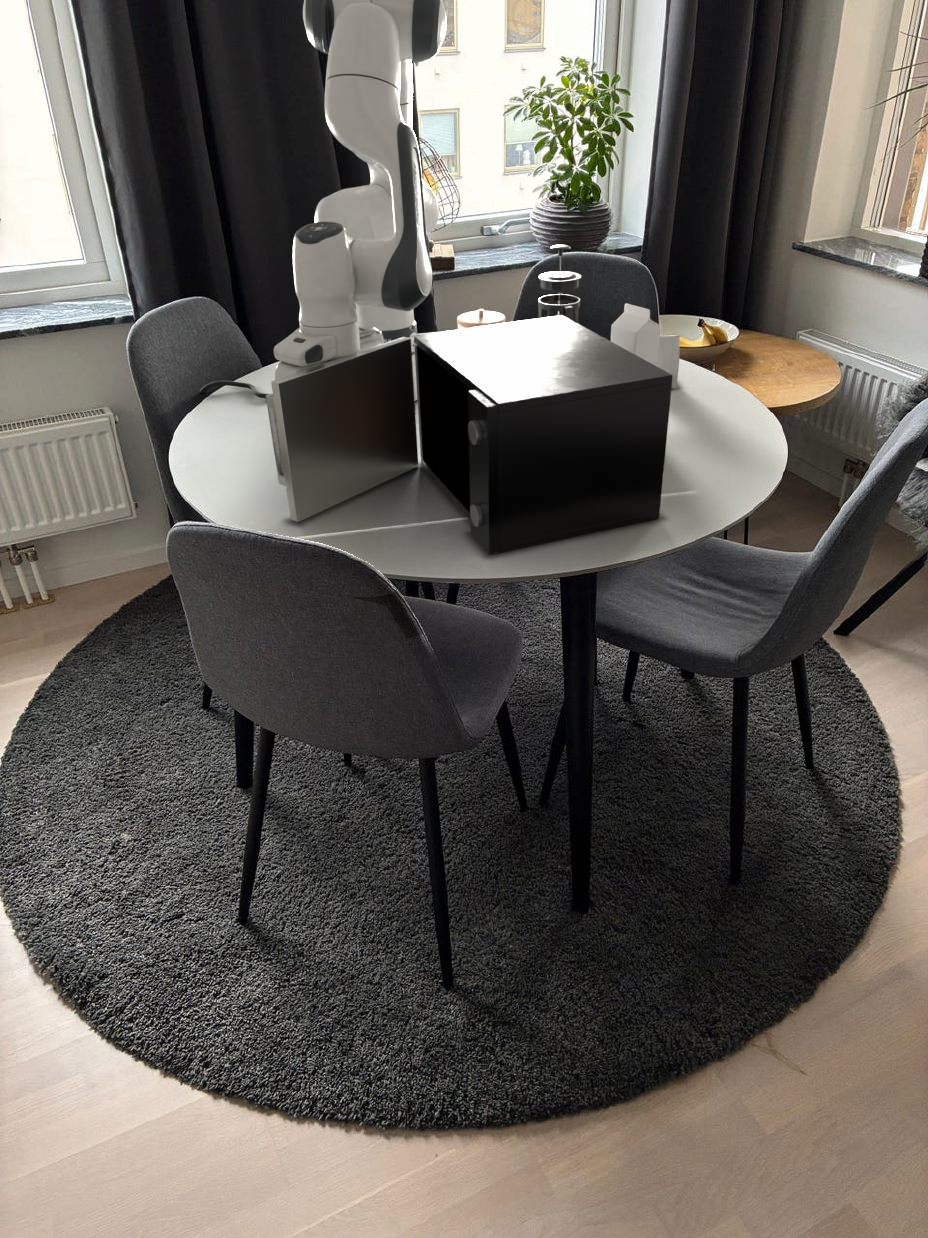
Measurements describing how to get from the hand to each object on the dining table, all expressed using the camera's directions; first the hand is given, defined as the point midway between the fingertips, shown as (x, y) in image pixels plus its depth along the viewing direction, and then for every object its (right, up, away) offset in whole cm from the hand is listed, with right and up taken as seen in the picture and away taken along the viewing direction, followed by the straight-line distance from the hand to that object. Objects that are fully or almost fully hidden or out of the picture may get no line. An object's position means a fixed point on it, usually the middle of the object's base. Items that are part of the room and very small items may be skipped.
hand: (339, 426), depth 149 cm
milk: (+50, +3, +21) cm, 54 cm away
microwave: (+30, -10, 0) cm, 31 cm away
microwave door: (+1, -9, +3) cm, 10 cm away
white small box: (+59, +16, +40) cm, 73 cm away
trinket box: (+24, +29, +62) cm, 73 cm away
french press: (+41, +28, +58) cm, 76 cm away
